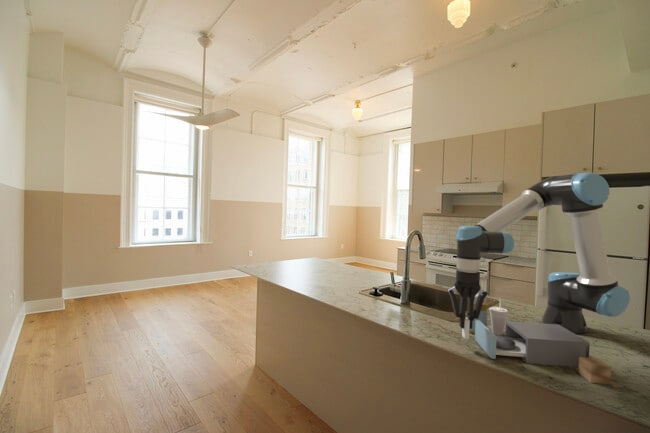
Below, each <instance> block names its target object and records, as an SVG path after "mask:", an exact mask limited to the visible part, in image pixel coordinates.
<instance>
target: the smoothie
mask: <svg viewBox="0 0 650 433" xmlns="http://www.w3.org/2000/svg"><path fill="white" fill-rule="evenodd" d="M489 313H490V322H491V332H492V333H494V334H495V335H496V336H503V335H504V330H505V327H506V321H507V320H506V319H507V315H508V313H509V312H508V310H507V309H505V308H503V307H502V298H499V307H498V306H490V307H489Z"/></svg>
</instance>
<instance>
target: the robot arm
mask: <svg viewBox="0 0 650 433" xmlns="http://www.w3.org/2000/svg"><path fill="white" fill-rule="evenodd" d="M610 193H611V192H610V186H609V184H608V182H607V180H606V179H605V178H604V177H603V176H602V175H600V174H598V173H595V172H578V173H570V174H561V175H554V176H550V177H547V178H545V179H543V180H541V181H538V182H536V183H535V184H533V185H531V186H530V187H527V189H525V190H523V191H522V193H521V195H520V196H519V197H518V198H515V199H514V200H513V201H511V202H509V203H508V204H506V205H504V206H503V207H501V208H500V209H498V210H496V211H495V212H493V213H491V214H490V215H489V216H487V217H486V218H484V219H482V220H481V221H479V222H478V223H476V224H474V225H460V226H459V227H458V228H457V232H456V235H455V241H456V271H455V282H454V286H452V287H450V288H447V292H448V293H449V296H450V300H451V304H452V305H451V306H452V308H453V314H454V315H455V318H456V317H457V318H459V327H460V328H461V336H462V337H463V339H464V340H469V339H470V332H469V329H472V321H473V320H474V319H475V318H476V319H478V318H479V315H480V311H481V308H482V305H483V301H484V298H485V297H486V298H487V296H488V292H487V291H486V290H484V289H482V288H481V285H480V282H481V280H480V279H481V273H480V272H479V271H481V258H482V257H481V256H482V254H501V255H502V254H508V253H510V252H512V251H513V249H514V248H515V240H514V236H513V235H512V233H509V232H503V231H505V230H506V229H508V228H509V227H511V226H512V225H514V224H515V223H517V222H518V221H521V220H522V219H523V218H525V217H526V216H528V215H530V214H531V213H533V212H534V211H536V212H538V211H541V210H542V209H544V208H546V207H550V206H551V207H552V206H561V211H562V213H564V215H567V216H568V219H569V224H570V230H571V234H572V240H573V244H574V249H575V254H576V259H577V264H578V268H579V273H578V272H562V271H560V272H559V271H558V272H556V271H555V272H551V273H550V274H549V275H548V281H547V306H546V308H545V310H544V312H543V314H542V316H541V323H542V324H558V325H560V326H562V327H564V328H566V329H567V330H569V331H571V332H572V333H574V334H585V333H588V325H587V322H586V319H585V316H584V314H583V310H586V311H590V312H593V313H596V314H598V315H601V316H606V317H610V318H614V317H618V316H620V315H622V314H623V313H624V312H625V311H626V309H627V308H628V307H629V304H630V299H631V296H630V293H629V291H628V290H627V289H626V288H625V287H623V286H619V282H618V278H617V277H616V276H615V275H613V274H612V273H611V270H610V264H609V260H608V255H607V250H606V243H605V238H604V233H603V229H602V224H601V223H602V222H601V218H600V213H599V212H600V211H601V210H602V209H603V208H604V204H605V203H606V202H607V200H608V199H609V196H610ZM456 293H458V294H459V305H458V299H457V295H456ZM477 293H478V294H479V295H478V298H477V301H476V304H475V308H474V297H475V295H476V294H477ZM466 304H467V305H466ZM466 309H467V310H466ZM473 309H474V311H473ZM467 317H468V318H467Z"/></svg>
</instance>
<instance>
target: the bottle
mask: <svg viewBox="0 0 650 433" xmlns="http://www.w3.org/2000/svg"><path fill="white" fill-rule="evenodd" d="M478 293H479V292H478ZM478 293H477V294H476V295H475V297H474V308H475V304H476V301H477V298H478V295H479V294H478ZM473 311H474V309H473ZM466 318H468V317H467V316H466ZM475 320H480V321H481V322H482V323H483V324H484V325H485V326H486V327H487V323H488V322H487V321H488V306H487V296H486V297H485V298H484V301H483V305H482V308H481V311H480V315H479V318H478V319H476V318H475V319H474V320H473V321H472V329H469V334H472V335H475ZM487 328H488V327H487Z"/></svg>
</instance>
